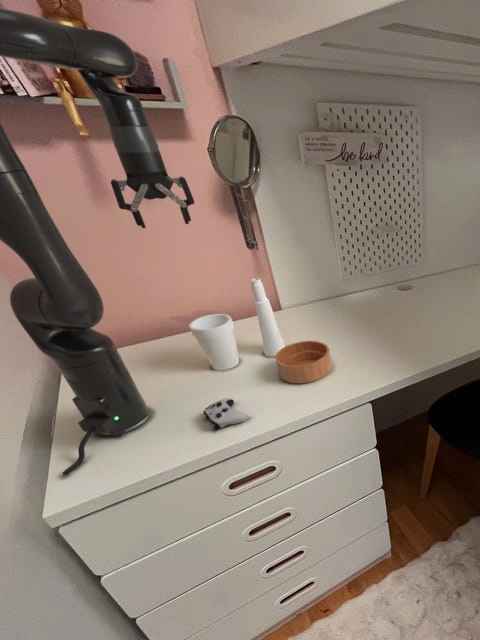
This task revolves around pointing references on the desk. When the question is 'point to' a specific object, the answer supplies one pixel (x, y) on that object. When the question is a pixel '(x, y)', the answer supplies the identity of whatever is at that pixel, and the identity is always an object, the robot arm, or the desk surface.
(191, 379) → the desk surface
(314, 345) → the bowl
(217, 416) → the game controller
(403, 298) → the desk surface
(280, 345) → the cosmetic bottle
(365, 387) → the desk surface
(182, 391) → the desk surface
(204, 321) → the foam cup
